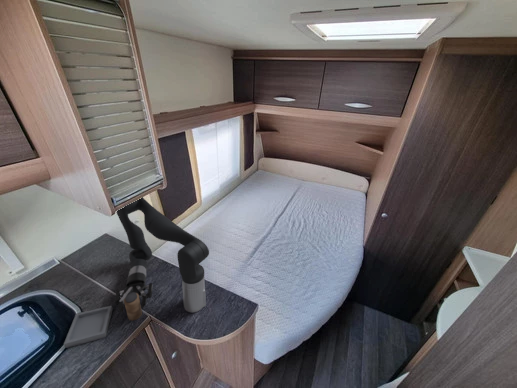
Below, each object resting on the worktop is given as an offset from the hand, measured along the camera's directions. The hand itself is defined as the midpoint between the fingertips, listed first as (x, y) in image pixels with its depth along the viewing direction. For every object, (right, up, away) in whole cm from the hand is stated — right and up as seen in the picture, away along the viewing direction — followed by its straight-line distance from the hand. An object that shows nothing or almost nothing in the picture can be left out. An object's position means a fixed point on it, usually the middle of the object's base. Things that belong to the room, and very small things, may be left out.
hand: (132, 308), depth 82 cm
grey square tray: (-15, -6, -2) cm, 16 cm away
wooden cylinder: (-1, -5, +5) cm, 7 cm away
